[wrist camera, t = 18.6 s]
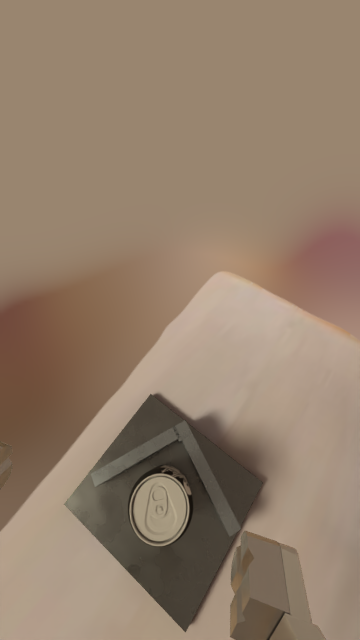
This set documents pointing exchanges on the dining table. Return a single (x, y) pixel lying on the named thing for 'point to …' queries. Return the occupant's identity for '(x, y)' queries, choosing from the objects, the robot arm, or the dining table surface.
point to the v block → (208, 506)
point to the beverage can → (160, 506)
